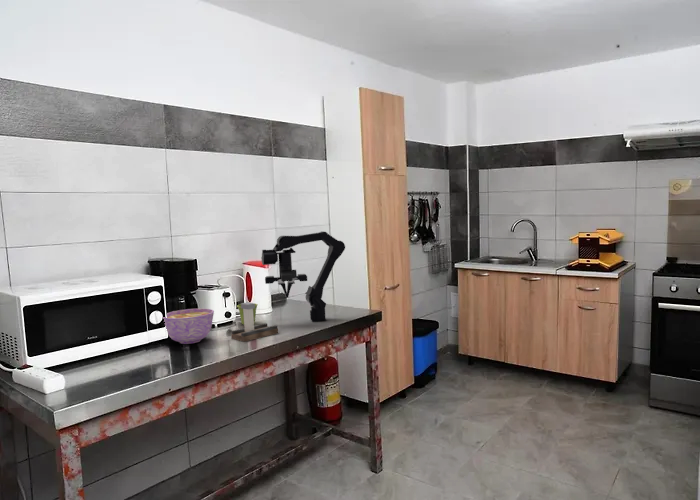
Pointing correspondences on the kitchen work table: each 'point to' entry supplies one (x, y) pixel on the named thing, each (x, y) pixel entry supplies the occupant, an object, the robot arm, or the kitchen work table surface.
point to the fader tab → (248, 316)
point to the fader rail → (254, 332)
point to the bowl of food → (189, 325)
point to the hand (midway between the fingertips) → (287, 297)
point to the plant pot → (243, 313)
